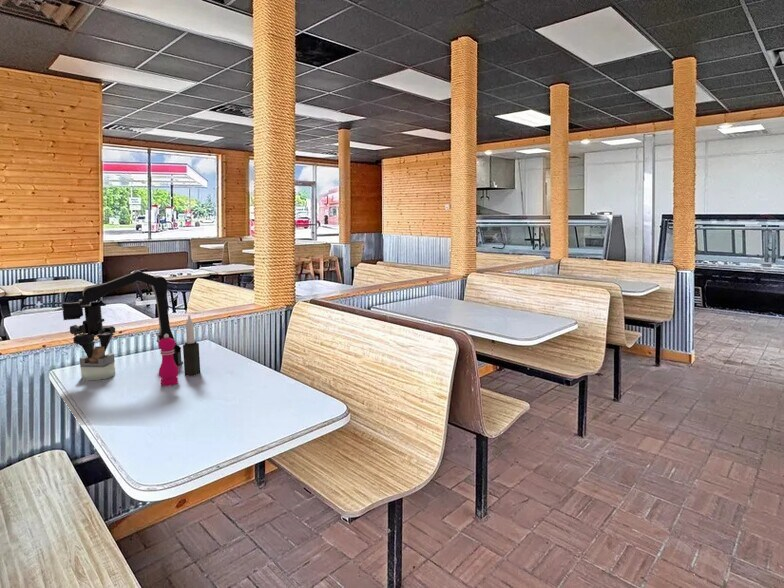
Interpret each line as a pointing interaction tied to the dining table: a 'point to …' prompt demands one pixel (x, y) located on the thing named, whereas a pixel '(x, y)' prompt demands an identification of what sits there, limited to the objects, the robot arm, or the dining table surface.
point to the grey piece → (98, 372)
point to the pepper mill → (168, 362)
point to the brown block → (97, 354)
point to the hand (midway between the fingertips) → (97, 354)
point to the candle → (191, 351)
